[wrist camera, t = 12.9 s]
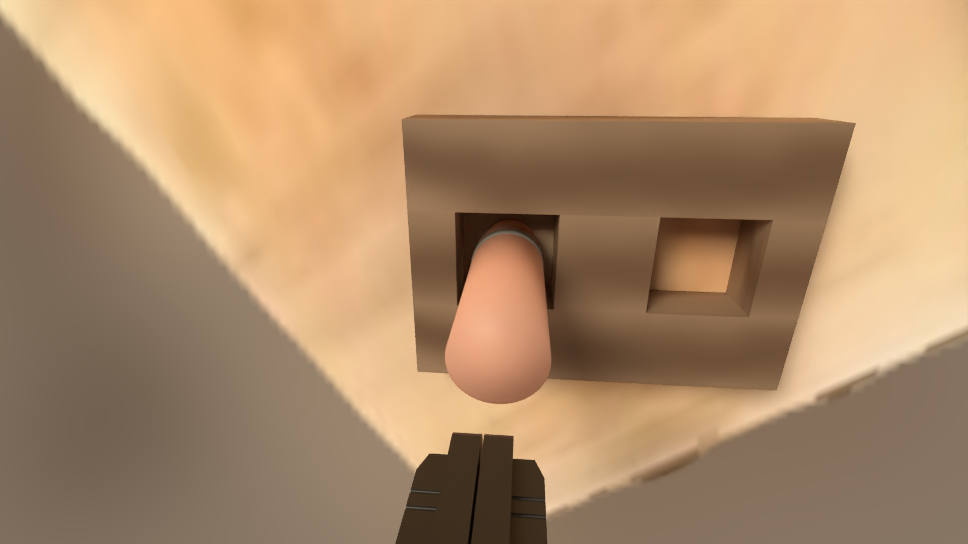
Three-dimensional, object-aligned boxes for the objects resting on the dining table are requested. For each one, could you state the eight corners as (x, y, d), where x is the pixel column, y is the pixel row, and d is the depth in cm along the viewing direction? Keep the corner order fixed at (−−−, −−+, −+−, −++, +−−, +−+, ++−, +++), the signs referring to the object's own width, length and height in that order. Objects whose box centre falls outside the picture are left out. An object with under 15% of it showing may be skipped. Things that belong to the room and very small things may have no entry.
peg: (477, 212, 26) (441, 309, 15) (543, 213, 26) (556, 314, 15) (477, 273, 28) (444, 402, 17) (540, 275, 27) (549, 408, 16)
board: (416, 114, 24) (401, 119, 22) (815, 118, 23) (855, 123, 20) (427, 344, 30) (417, 371, 27) (752, 359, 28) (776, 390, 25)
